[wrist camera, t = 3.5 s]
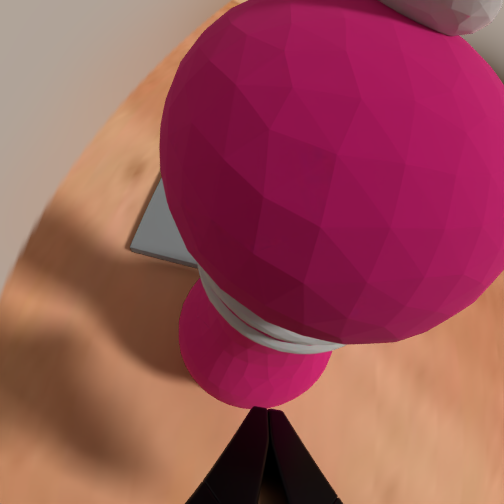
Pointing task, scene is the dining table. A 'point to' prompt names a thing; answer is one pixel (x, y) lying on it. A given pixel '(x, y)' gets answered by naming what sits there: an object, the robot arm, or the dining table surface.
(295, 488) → the robot arm
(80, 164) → the dining table surface
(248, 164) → the pepper mill
